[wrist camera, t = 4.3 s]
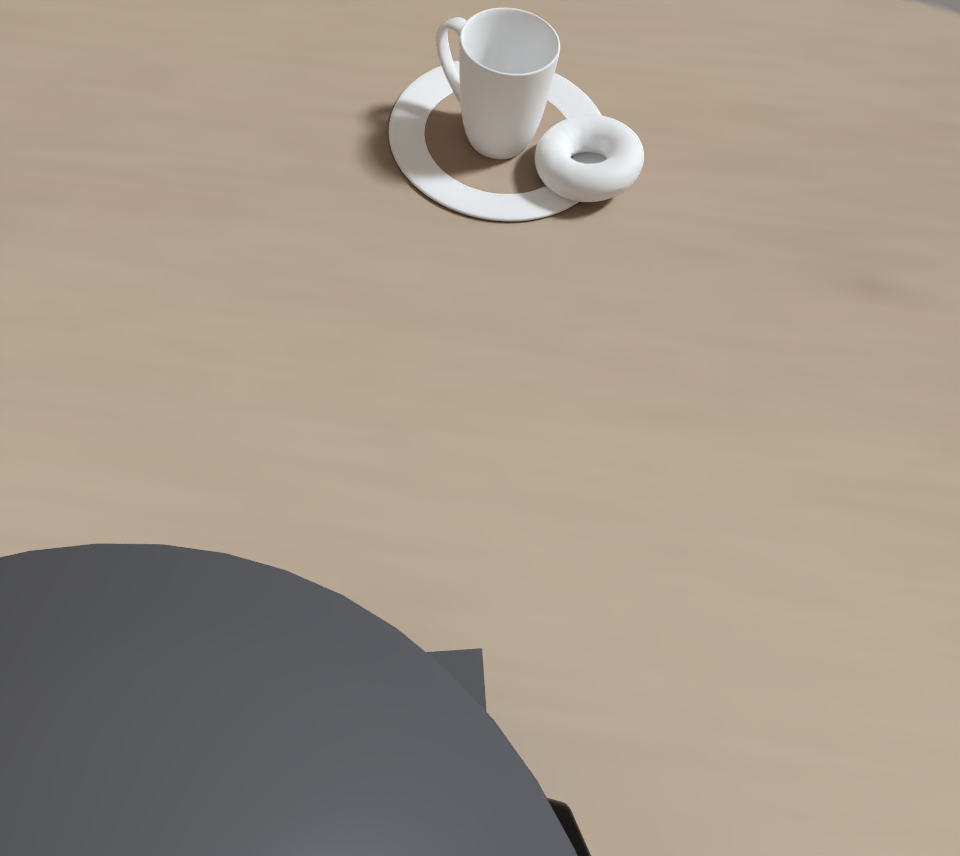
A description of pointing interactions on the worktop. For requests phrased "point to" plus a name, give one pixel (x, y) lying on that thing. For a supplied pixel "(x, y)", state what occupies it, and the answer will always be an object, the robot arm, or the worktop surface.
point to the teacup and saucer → (513, 120)
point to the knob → (240, 719)
